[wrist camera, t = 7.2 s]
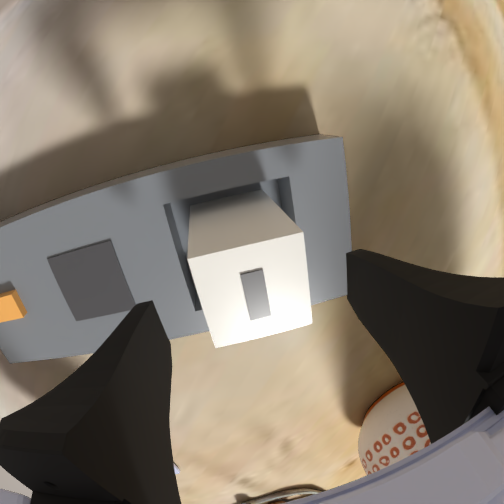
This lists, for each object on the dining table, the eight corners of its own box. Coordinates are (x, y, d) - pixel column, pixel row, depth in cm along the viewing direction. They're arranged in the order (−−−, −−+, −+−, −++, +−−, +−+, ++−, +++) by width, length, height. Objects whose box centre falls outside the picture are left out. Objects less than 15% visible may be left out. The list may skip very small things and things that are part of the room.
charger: (272, 254, 18) (312, 324, 12) (206, 270, 18) (215, 349, 12) (261, 189, 17) (304, 232, 10) (190, 205, 16) (187, 259, 10)
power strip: (319, 134, 16) (347, 137, 13) (333, 270, 20) (357, 298, 17) (-56, 249, 14) (-82, 269, 11) (-9, 343, 18) (-26, 370, 15)
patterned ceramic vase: (353, 449, 32) (428, 611, 7) (335, 404, 27) (443, 635, 1) (438, 400, 32) (532, 542, 7) (444, 341, 27) (586, 524, 1)
